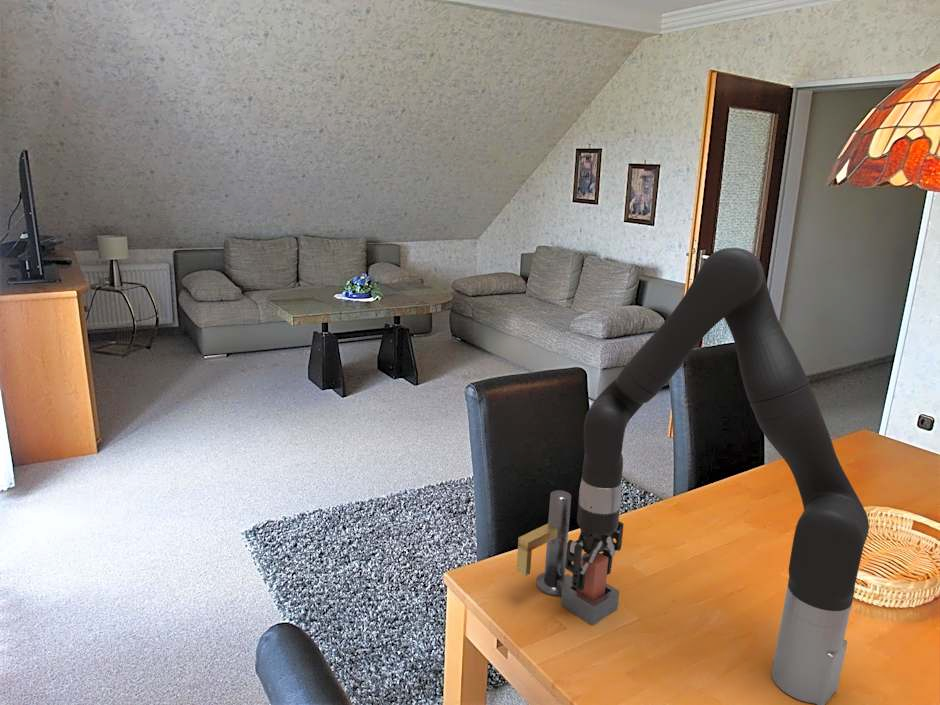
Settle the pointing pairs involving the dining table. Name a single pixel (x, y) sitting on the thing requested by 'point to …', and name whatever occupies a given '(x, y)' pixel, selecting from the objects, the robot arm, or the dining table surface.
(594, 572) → the red rectangular block
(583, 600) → the grey stand
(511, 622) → the dining table surface
